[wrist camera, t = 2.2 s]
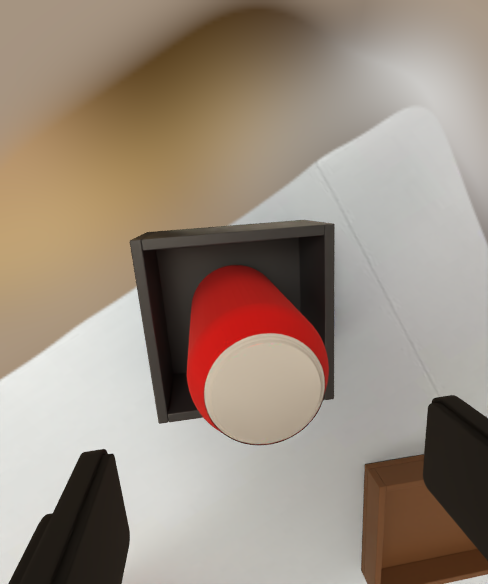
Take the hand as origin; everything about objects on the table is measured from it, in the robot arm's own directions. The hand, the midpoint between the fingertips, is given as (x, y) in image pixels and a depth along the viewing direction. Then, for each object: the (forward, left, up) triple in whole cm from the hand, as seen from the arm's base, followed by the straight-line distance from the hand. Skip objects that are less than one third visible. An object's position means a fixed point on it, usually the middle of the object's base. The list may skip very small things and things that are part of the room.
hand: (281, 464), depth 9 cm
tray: (-19, +23, -16) cm, 34 cm away
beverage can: (0, 0, -15) cm, 15 cm away
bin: (0, 0, -16) cm, 16 cm away
